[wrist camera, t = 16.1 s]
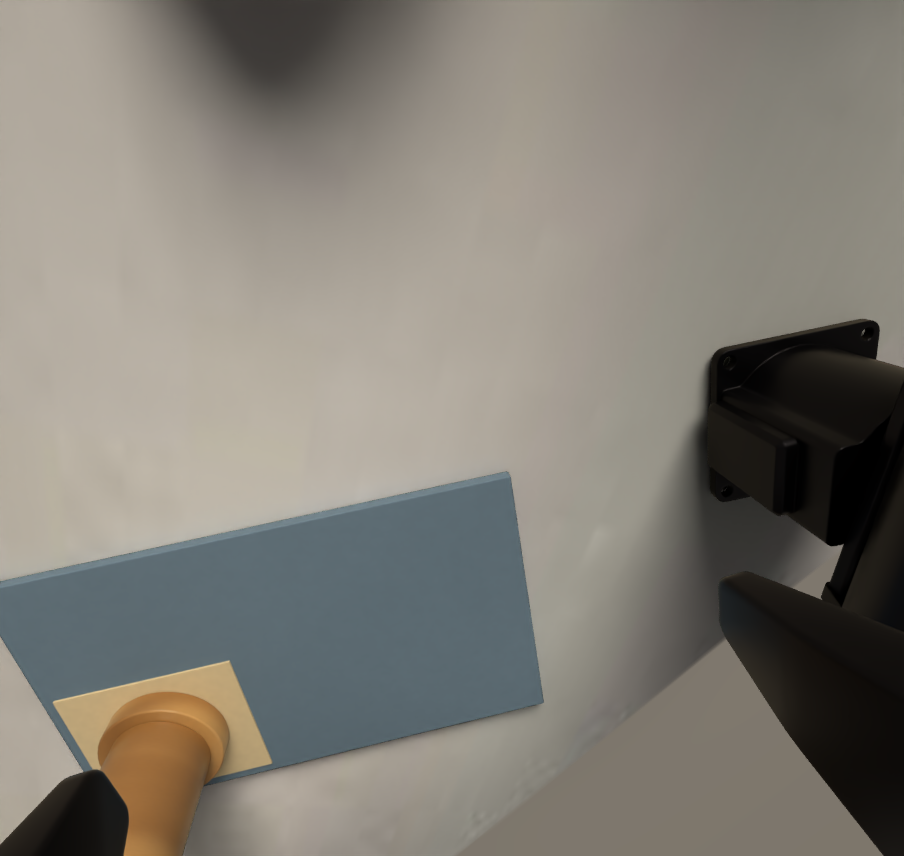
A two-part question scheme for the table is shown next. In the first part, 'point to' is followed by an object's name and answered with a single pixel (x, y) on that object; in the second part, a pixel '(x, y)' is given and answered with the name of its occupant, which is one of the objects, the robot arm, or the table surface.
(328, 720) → the desk mat
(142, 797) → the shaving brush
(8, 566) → the table surface
